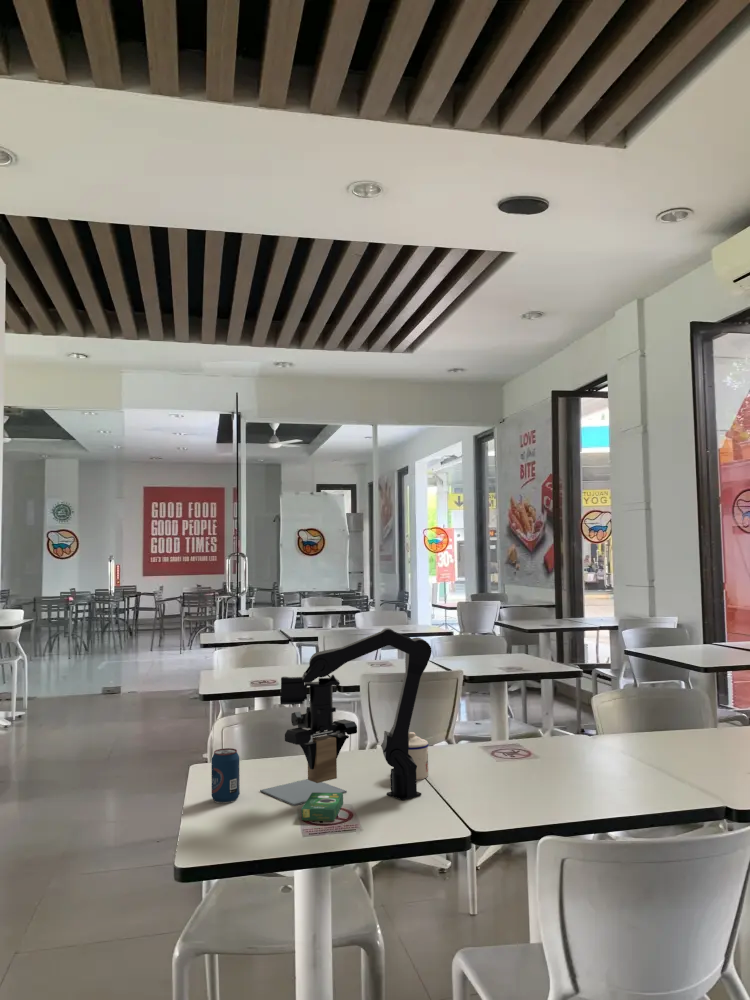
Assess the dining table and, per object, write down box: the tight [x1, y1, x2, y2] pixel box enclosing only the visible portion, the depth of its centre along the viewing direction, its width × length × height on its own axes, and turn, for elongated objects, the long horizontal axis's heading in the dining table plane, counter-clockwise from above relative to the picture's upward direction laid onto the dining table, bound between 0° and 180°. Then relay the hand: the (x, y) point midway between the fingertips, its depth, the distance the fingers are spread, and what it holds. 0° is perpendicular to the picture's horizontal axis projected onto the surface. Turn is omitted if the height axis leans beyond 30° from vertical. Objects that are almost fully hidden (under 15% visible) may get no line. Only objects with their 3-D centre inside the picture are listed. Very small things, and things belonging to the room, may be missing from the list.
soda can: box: [211, 747, 241, 804], centre depth 195 cm, size 7×7×12 cm
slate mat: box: [259, 778, 348, 807], centre depth 200 cm, size 16×16×1 cm
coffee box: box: [300, 793, 344, 822], centre depth 184 cm, size 8×3×13 cm
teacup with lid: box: [408, 731, 429, 781], centre depth 215 cm, size 12×9×12 cm
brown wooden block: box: [307, 734, 338, 783], centre depth 194 cm, size 4×6×10 cm, turn 129°
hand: (322, 766), depth 194 cm, fingers closed on brown wooden block, 6 cm apart
